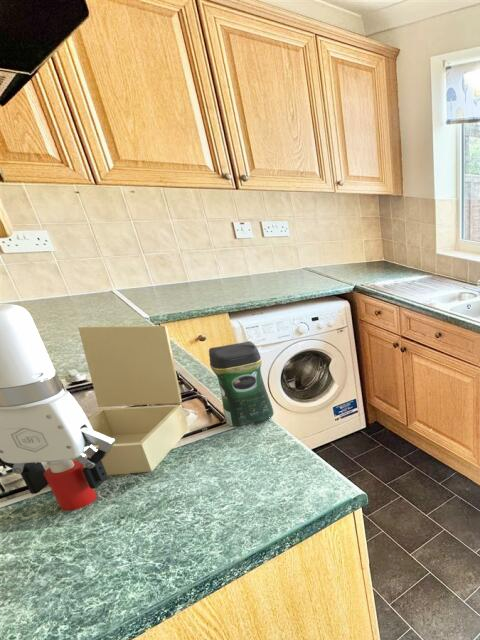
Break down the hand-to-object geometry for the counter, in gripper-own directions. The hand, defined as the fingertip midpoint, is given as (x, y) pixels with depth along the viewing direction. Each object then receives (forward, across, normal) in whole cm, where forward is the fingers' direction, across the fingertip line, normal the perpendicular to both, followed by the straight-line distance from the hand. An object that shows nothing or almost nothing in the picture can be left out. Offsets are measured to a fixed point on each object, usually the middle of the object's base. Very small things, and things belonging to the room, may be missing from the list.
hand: (70, 485), depth 69 cm
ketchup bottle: (+4, 0, 0) cm, 4 cm away
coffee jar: (+4, +18, +27) cm, 33 cm away
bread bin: (+4, 0, +15) cm, 16 cm away
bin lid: (-11, 0, +24) cm, 26 cm away
